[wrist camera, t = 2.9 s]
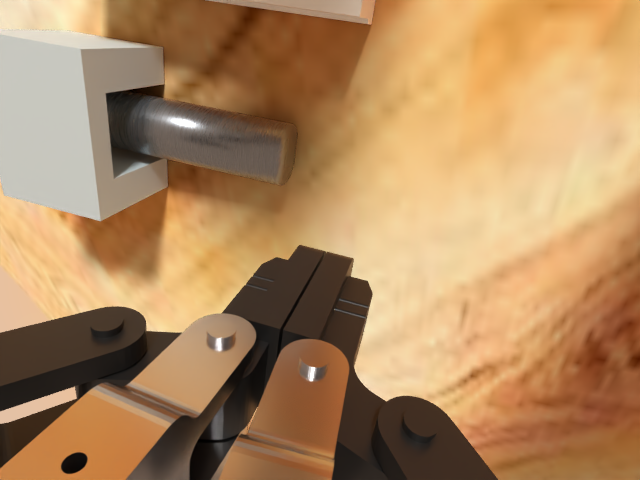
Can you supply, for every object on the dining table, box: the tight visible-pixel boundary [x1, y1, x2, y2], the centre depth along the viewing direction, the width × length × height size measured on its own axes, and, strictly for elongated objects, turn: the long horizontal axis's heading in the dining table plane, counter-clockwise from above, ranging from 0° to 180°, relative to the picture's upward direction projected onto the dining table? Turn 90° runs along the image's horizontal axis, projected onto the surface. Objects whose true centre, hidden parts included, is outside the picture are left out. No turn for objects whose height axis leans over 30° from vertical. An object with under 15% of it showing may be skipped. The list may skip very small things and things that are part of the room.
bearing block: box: [0, 29, 168, 221], centre depth 23 cm, size 6×8×6 cm
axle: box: [106, 90, 297, 186], centre depth 23 cm, size 16×3×3 cm, turn 81°
